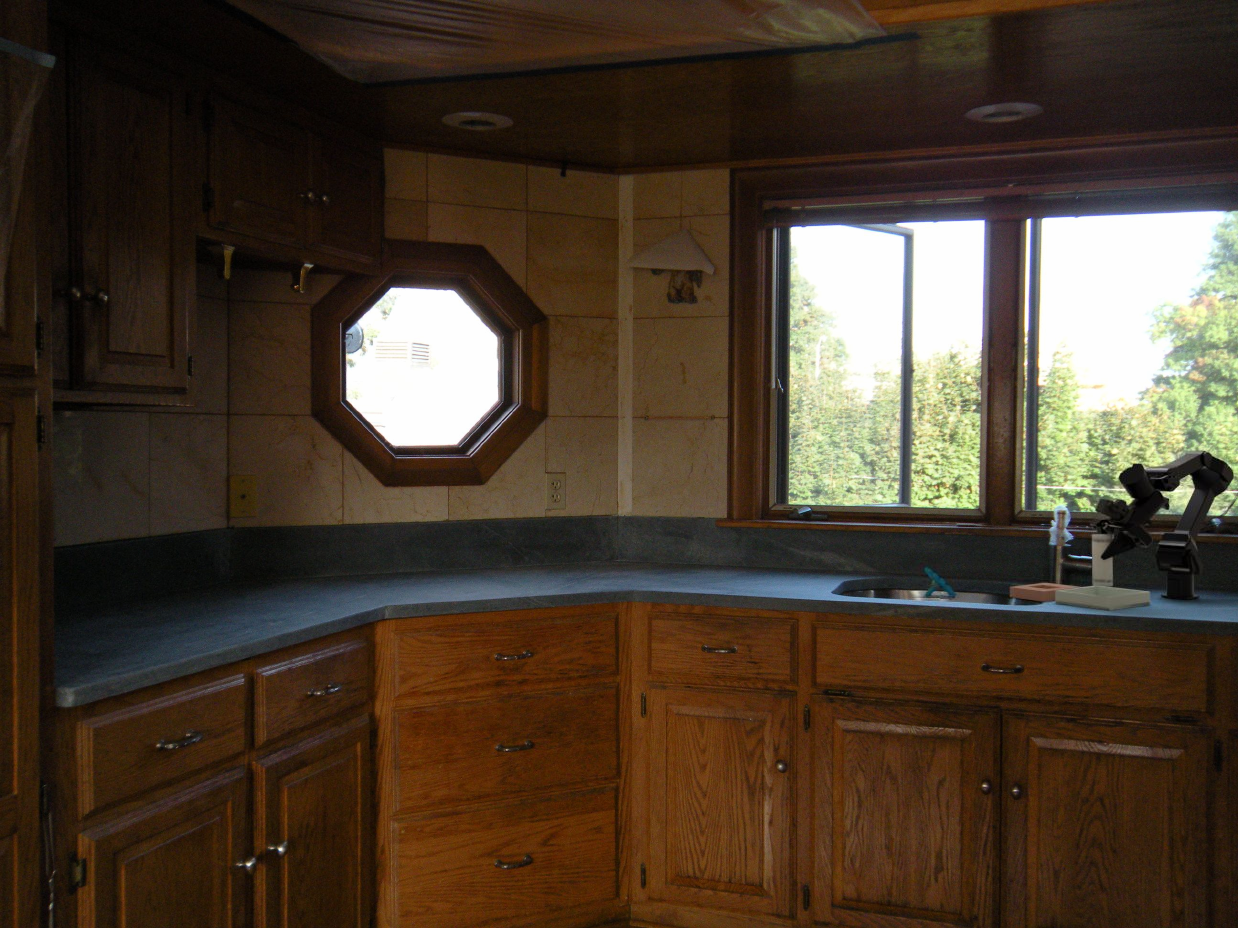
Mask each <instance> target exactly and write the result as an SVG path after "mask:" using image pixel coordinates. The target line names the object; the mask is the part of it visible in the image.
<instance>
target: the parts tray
mask: <svg viewBox="0 0 1238 928" xmlns="http://www.w3.org/2000/svg"><path fill="white" fill-rule="evenodd" d="M1054 601H1055V604H1059V605H1065V604H1067V606H1072V605H1075V606H1074V607H1080V606H1082V607H1081V608H1087V607H1089V608H1088V609H1094V608H1095V610H1102V609H1106V610H1105V611H1109V610H1110V611H1114V609H1116V610H1122V609H1128V608H1135V607H1142V606H1148V605H1151V591H1145V590H1138V589H1130V588H1121V587H1113V586H1094V585H1091V586H1090V585H1089V586H1083V587H1081V586H1080V588H1073V589H1065V590H1057V591H1055V600H1054Z"/></svg>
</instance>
